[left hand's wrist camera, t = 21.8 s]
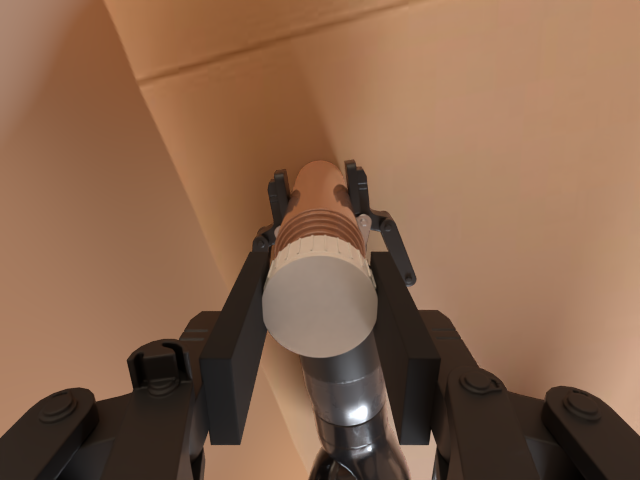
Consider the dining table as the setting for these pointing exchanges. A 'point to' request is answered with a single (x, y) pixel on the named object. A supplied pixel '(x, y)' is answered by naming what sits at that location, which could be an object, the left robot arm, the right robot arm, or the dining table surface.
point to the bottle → (320, 208)
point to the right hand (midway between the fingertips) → (314, 167)
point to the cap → (319, 297)
